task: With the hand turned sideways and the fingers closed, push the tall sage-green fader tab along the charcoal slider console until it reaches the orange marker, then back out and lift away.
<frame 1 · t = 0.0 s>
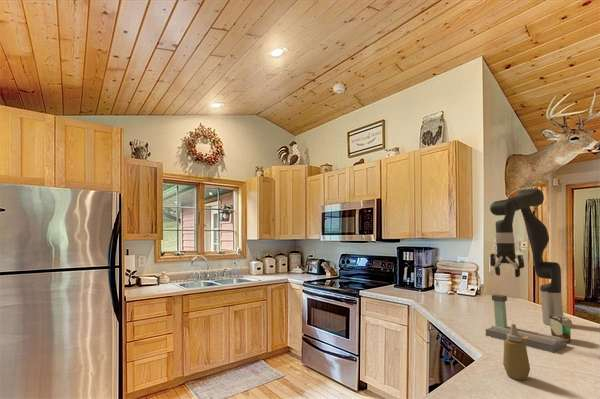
hand: (507, 276, 160), 29 cm above the counter, tool pointing down, fingers open, 8 cm apart
fader tab: (500, 311, 165), point 11 cm above the counter, slide at 0.0 cm
food container: (564, 340, 156), on the counter
squeeze bottle: (517, 377, 118), on the counter
slider console: (524, 340, 156), on the counter
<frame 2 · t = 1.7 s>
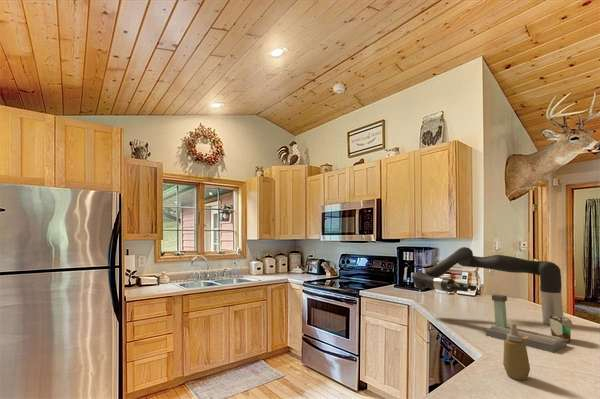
hand: (472, 288, 177), 20 cm above the counter, tool horizontal, fingers open, 8 cm apart
nothing on the counter moved.
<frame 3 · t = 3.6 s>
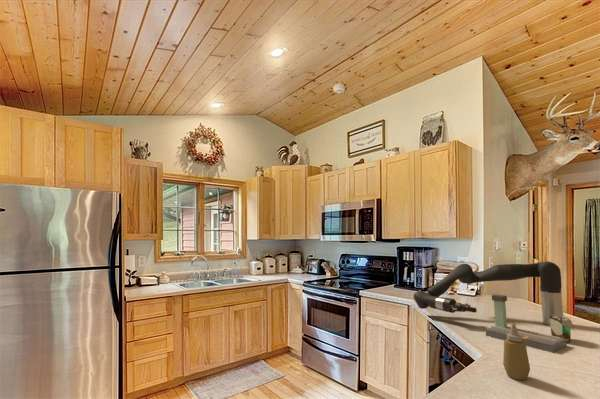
hand: (475, 310, 175), 10 cm above the counter, tool horizontal, fingers closed
nothing on the counter moved.
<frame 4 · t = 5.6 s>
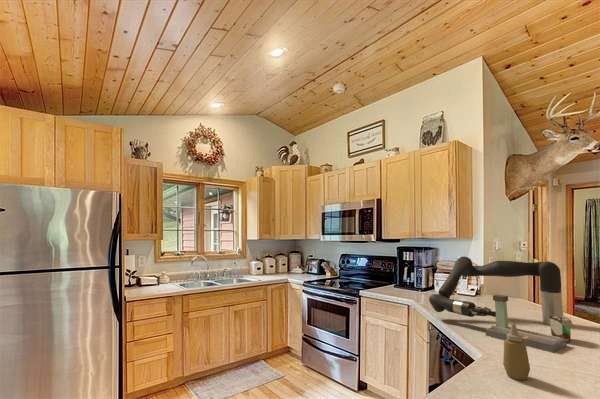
hand: (497, 314, 166), 9 cm above the counter, tool horizontal, fingers closed
fader tab: (501, 312, 165), point 11 cm above the counter, slide at 0.5 cm, touching gripper
everything else where it was.
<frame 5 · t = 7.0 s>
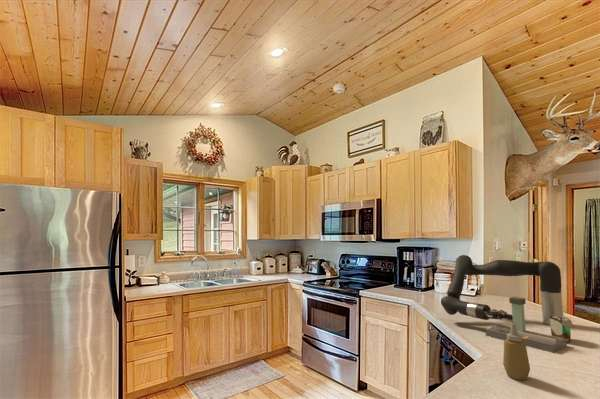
hand: (514, 317, 160), 9 cm above the counter, tool horizontal, fingers closed
fader tab: (518, 315, 158), point 11 cm above the counter, slide at 8.3 cm, touching gripper
everything else where it was.
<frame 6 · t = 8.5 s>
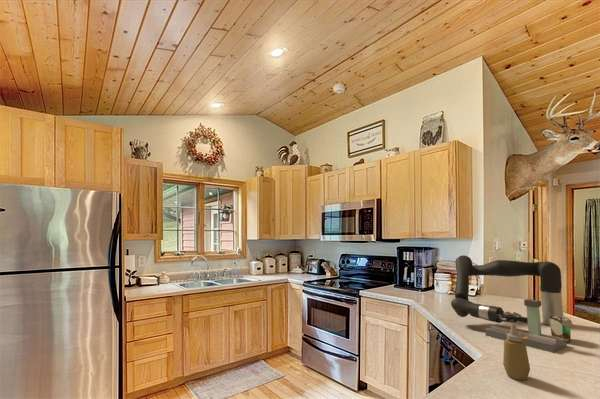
hand: (529, 320, 154), 9 cm above the counter, tool horizontal, fingers closed
fader tab: (533, 318, 153), point 11 cm above the counter, slide at 14.7 cm, touching gripper
everything else where it was.
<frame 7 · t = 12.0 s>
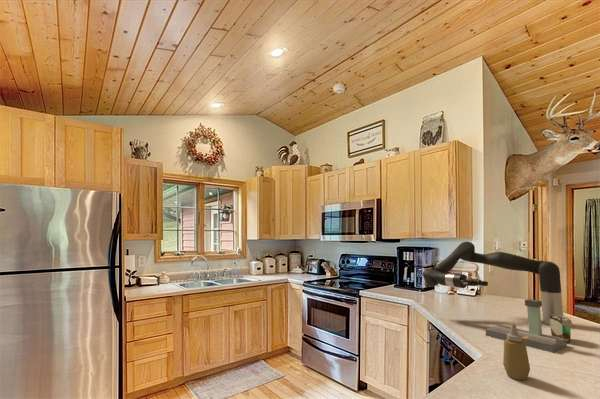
hand: (487, 283, 173), 24 cm above the counter, tool horizontal, fingers closed
fader tab: (534, 318, 153), point 11 cm above the counter, slide at 15.0 cm
everything else where it was.
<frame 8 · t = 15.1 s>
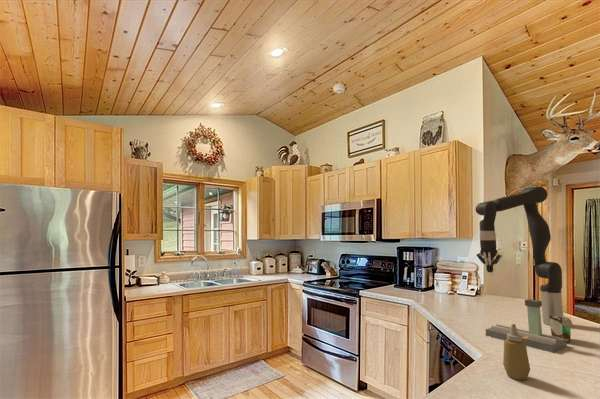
hand: (490, 272, 178), 29 cm above the counter, tool pointing down, fingers closed
nothing on the counter moved.
at the end: fader tab slide at 15.0 cm; food container moved 0.2 cm from its start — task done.
